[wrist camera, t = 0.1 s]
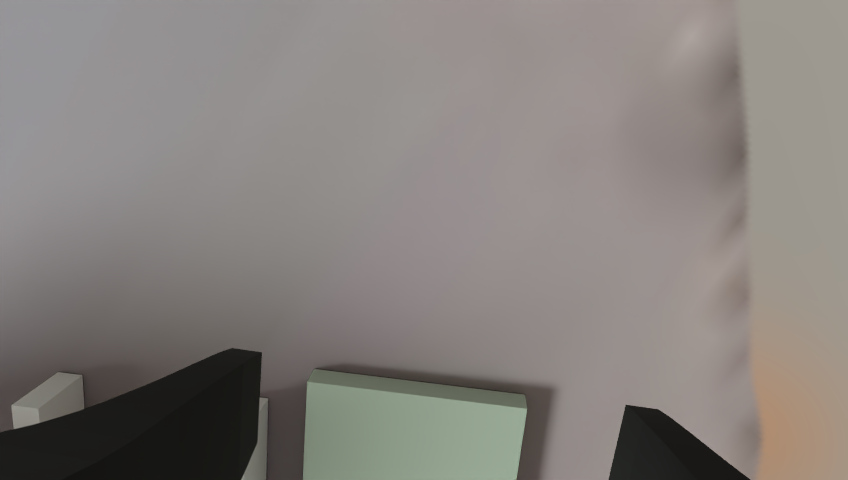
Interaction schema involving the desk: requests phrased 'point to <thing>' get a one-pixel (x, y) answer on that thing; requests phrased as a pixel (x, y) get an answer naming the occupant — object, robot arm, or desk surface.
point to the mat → (409, 430)
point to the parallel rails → (68, 397)
